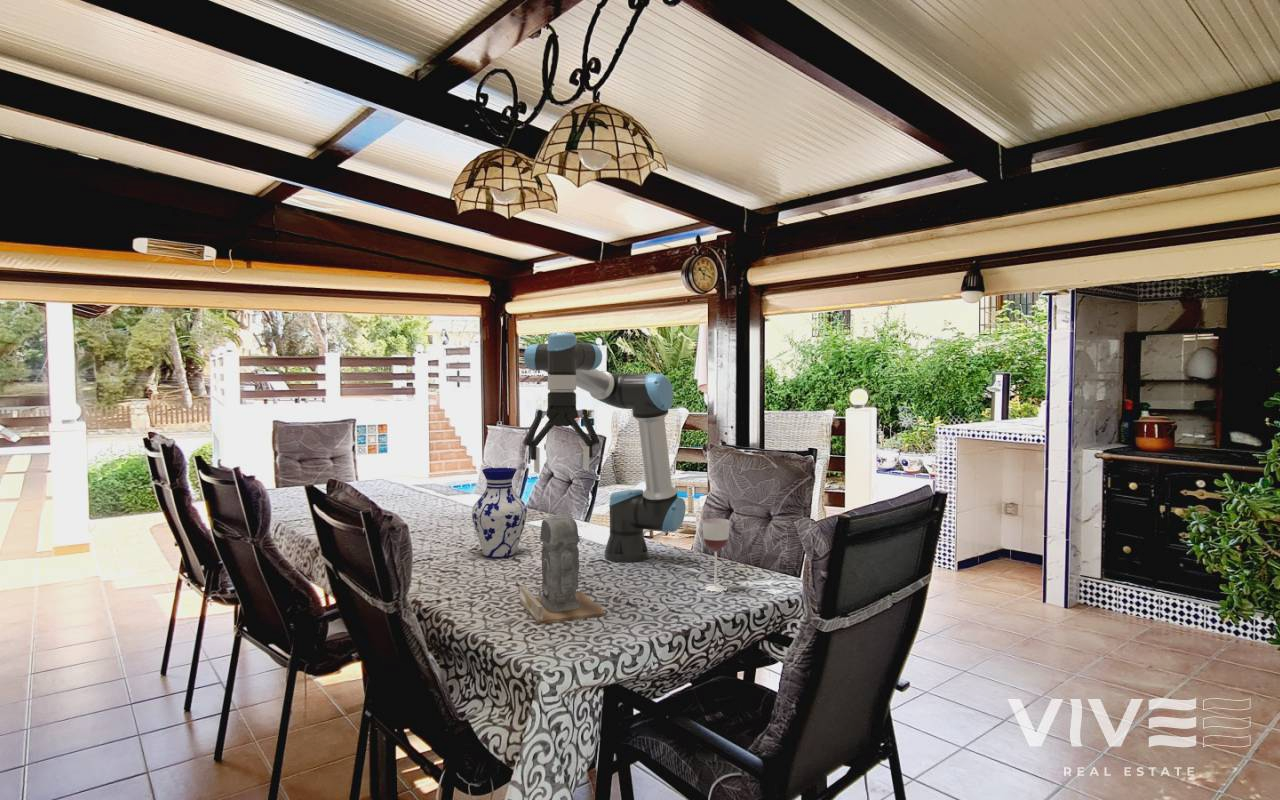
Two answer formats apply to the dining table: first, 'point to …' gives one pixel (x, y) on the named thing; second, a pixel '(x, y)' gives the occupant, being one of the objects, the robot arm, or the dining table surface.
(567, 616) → the shelf board
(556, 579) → the figurine
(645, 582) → the dining table surface
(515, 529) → the vase
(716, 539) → the wineglass
